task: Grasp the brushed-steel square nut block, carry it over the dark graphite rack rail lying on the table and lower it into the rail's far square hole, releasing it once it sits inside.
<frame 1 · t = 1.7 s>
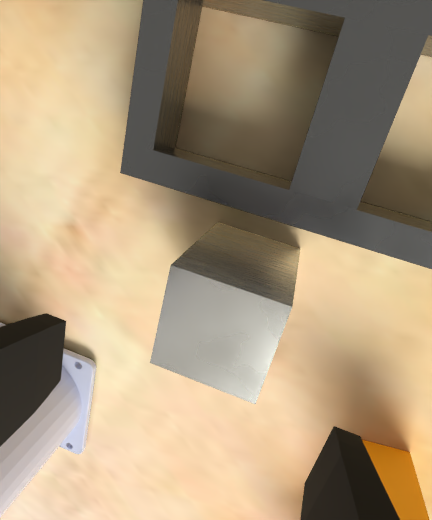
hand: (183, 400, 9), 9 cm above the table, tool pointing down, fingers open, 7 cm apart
rack rail: (346, 122, 14), on the table
nut block: (246, 272, 17), on the table
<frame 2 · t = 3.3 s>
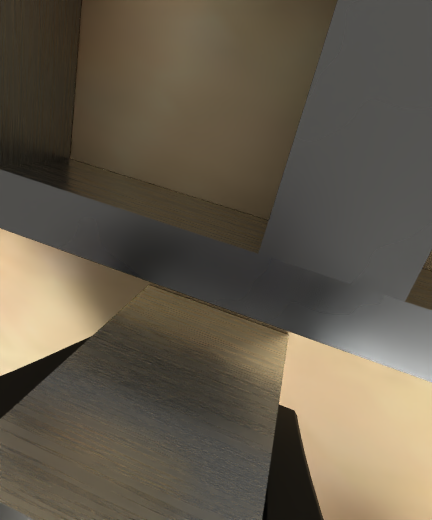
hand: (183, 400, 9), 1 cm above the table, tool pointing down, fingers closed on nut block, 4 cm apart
rack rail: (375, 112, 7), on the table
nut block: (200, 366, 10), on the table, touching gripper
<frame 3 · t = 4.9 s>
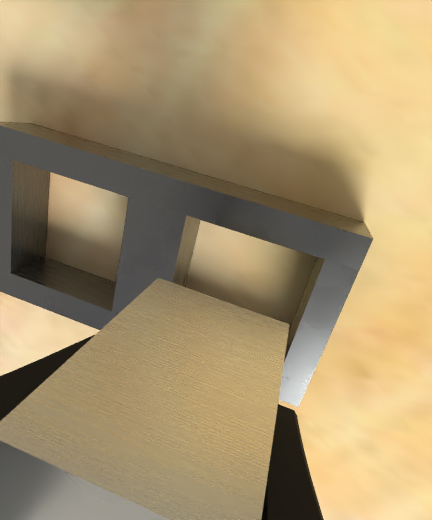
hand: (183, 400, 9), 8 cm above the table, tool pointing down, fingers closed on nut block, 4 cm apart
rack rail: (167, 250, 17), on the table
nut block: (206, 355, 11), point 6 cm above the table, touching gripper
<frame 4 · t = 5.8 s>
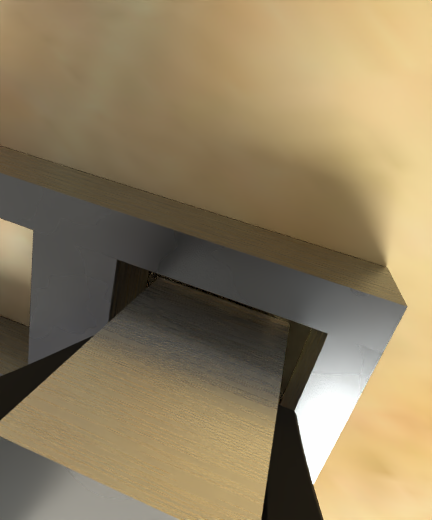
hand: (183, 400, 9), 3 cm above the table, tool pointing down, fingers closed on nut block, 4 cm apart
rack rail: (110, 295, 13), on the table
nut block: (206, 354, 11), point 1 cm above the table, touching gripper
when the fingers open (3 cm above the table, at t = 6.5 s): nut block drops 1 cm, resting in rack rail.
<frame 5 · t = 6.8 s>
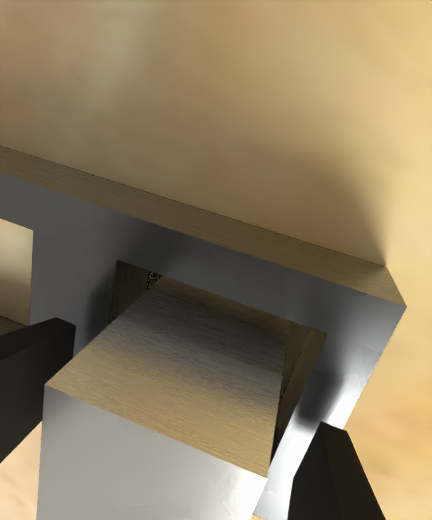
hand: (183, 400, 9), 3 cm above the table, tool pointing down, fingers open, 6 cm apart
rack rail: (110, 295, 13), on the table
nut block: (216, 336, 12), resting in rack rail
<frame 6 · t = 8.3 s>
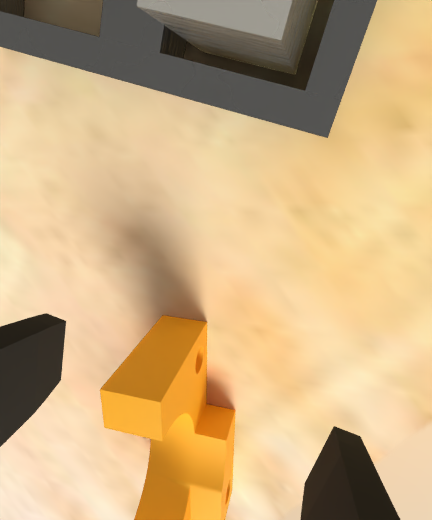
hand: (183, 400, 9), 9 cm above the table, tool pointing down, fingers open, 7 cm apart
pipe clamp: (201, 404, 22), on the table
nut block: (262, 6, 14), resting in rack rail
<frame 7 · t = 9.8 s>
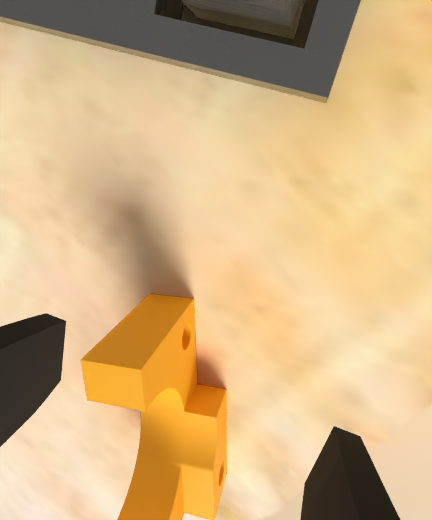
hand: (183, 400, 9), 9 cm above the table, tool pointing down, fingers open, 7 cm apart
pipe clamp: (192, 385, 21), on the table
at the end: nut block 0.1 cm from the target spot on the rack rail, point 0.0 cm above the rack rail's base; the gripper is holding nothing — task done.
